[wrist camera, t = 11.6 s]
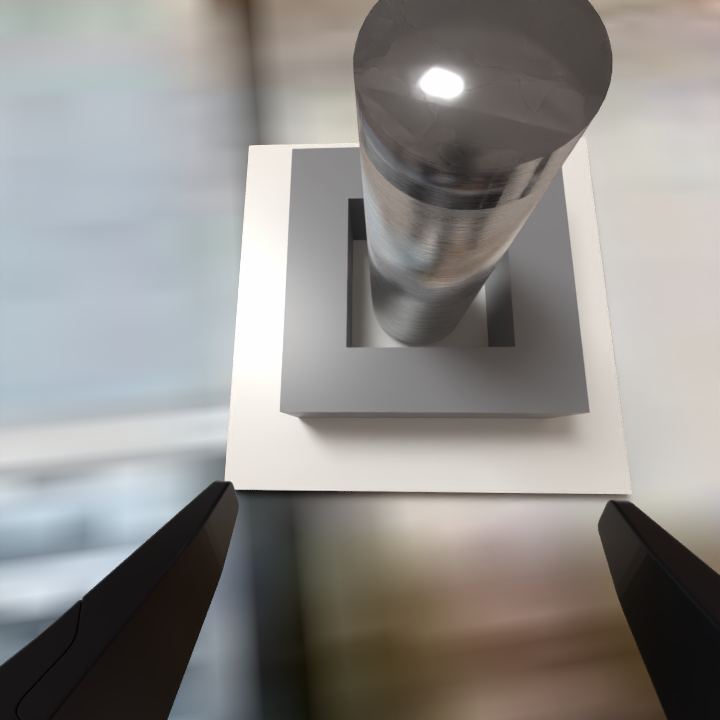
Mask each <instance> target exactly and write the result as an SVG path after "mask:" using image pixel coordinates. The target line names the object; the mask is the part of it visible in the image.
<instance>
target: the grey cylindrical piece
mask: <svg viewBox="0 0 720 720" xmlns="http://www.w3.org/2000/svg"><path fill="white" fill-rule="evenodd" d="M353 67H354V83H355V96H356V108H357V121H358V133H359V146H360V159H361V171H362V184H363V196H364V209H365V221H366V234H367V247H368V259H369V272H370V284H371V297H372V307H373V312H374V315H375V318H376V320H377V322H378V323H379V325H380V326H381V328H382V329H383V330H384V331H385V332H386V333H387V334H388V335H390V336H391V337H392V338H394V339H396V340H398V341H400V342H403V343H406V344H410V345H426V344H431V343H435V342H437V341H439V340H441V339H443V338H445V337H446V336H447V335H449V334H450V333H451V332H452V331H453V330H454V329H455V328H456V326H457V325H458V323H459V322H460V320H461V319H462V317H463V316H464V314H465V313H466V311H467V310H468V308H469V307H470V305H471V304H472V302H473V301H474V299H475V298H476V296H477V295H478V293H479V292H480V290H481V288H482V287H483V285H484V284H485V282H486V281H487V279H488V278H489V276H490V275H491V273H492V272H493V270H494V269H495V267H496V266H497V264H498V263H499V261H500V260H501V258H502V257H503V255H504V254H505V252H506V250H507V249H508V247H509V246H510V244H511V243H512V241H513V240H514V238H515V237H516V235H517V234H518V232H519V231H520V229H521V228H522V226H523V225H524V223H525V222H526V220H527V219H528V217H529V216H530V214H531V212H532V211H533V209H534V208H535V206H536V205H537V203H538V202H539V200H540V199H541V197H542V196H543V194H544V193H545V191H546V190H547V188H548V187H549V185H550V184H551V182H552V181H553V179H554V178H555V176H556V174H557V173H558V171H559V170H560V168H561V167H562V165H563V164H564V162H565V161H566V159H567V158H568V156H569V155H570V153H571V152H572V150H573V149H574V147H575V146H576V144H577V143H578V141H579V140H580V138H581V137H582V135H583V133H584V132H585V130H586V129H587V127H588V126H589V124H590V123H591V121H592V120H593V118H594V117H595V115H596V114H597V112H598V111H599V109H600V107H601V105H602V103H603V101H604V99H605V97H606V94H607V91H608V88H609V85H610V81H611V75H612V50H611V44H610V40H609V37H608V34H607V31H606V28H605V26H604V24H603V22H602V20H601V18H600V16H599V15H598V13H597V12H596V10H595V9H594V8H593V6H592V5H591V3H590V2H589V1H588V0H379V1H378V2H377V3H376V4H375V6H374V7H373V8H372V10H371V11H370V13H369V14H368V16H367V17H366V19H365V21H364V23H363V25H362V27H361V29H360V31H359V34H358V37H357V41H356V44H355V50H354V57H353Z"/></svg>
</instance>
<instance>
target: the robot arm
mask: <svg viewBox="0 0 720 720" xmlns="http://www.w3.org/2000/svg"><path fill="white" fill-rule="evenodd" d="M238 506H239V505H238V499H237V496H236V492H235V489H234V485H233V483H232V482H231V481H220V480H218V481H215V482H213V483H212V484H211V485H209V486H208V487H207V488H206V489H205V490H204V491H203V492H201V493H200V494H199V495H198V496H197V497H196V498H195V499H193V500H192V501H191V502H190V503H189V504H188V505H187V506H186V507H184V508H183V509H182V510H181V511H180V512H179V513H178V514H176V515H175V516H174V517H173V518H172V519H171V520H170V521H169V522H167V523H166V524H165V525H164V526H163V527H162V528H161V529H159V530H158V531H157V532H156V533H155V534H154V535H153V536H152V537H150V538H149V539H148V540H147V541H146V542H145V543H144V544H142V545H141V546H140V547H139V548H138V549H137V550H136V551H134V552H133V553H132V554H131V555H130V556H129V557H128V558H127V559H125V560H124V561H123V562H122V563H121V564H120V565H119V566H117V567H116V568H115V569H114V570H113V571H112V572H111V573H110V574H108V575H107V576H106V577H105V578H104V579H103V580H102V581H100V582H99V583H98V584H97V585H96V586H95V587H94V588H93V589H91V590H90V591H89V592H88V593H87V594H86V595H85V596H84V597H83V598H82V600H79V601H78V602H76V603H75V604H74V605H73V606H72V607H71V608H70V609H69V610H67V611H66V612H65V613H64V614H63V615H62V616H61V617H59V618H58V619H57V620H56V621H55V622H53V623H52V624H51V625H50V626H49V627H48V628H46V629H45V630H44V631H43V632H42V633H41V634H39V635H38V636H37V637H36V638H35V639H33V640H32V641H31V642H30V643H28V644H27V645H26V646H25V647H23V648H22V649H21V650H20V651H18V652H17V653H16V654H15V655H13V656H12V657H11V658H10V659H8V660H7V661H6V662H5V663H3V664H2V665H1V666H0V720H167V719H168V716H169V714H170V711H171V708H172V706H173V703H174V700H175V698H176V695H177V692H178V690H179V687H180V684H181V682H182V679H183V676H184V674H185V671H186V668H187V665H188V663H189V660H190V657H191V655H192V652H193V649H194V647H195V644H196V641H197V639H198V636H199V633H200V631H201V628H202V625H203V623H204V620H205V617H206V615H207V612H208V609H209V606H210V604H211V601H212V598H213V596H214V593H215V590H216V588H217V585H218V582H219V579H220V577H221V574H222V570H223V567H224V563H225V560H226V556H227V552H228V548H229V544H230V540H231V536H232V533H233V529H234V525H235V521H236V517H237V513H238ZM598 531H599V535H600V538H601V542H602V545H603V549H604V552H605V555H606V559H607V562H608V566H609V569H610V572H611V576H612V579H613V583H614V586H615V589H616V593H617V596H618V599H619V602H620V604H621V607H622V609H623V612H624V615H625V617H626V619H627V622H628V624H629V627H630V629H631V632H632V634H633V637H634V639H635V642H636V644H637V647H638V649H639V651H640V654H641V656H642V659H643V661H644V664H645V666H646V669H647V671H648V674H649V676H650V678H651V681H652V683H653V686H654V688H655V691H656V693H657V696H658V698H659V701H660V703H661V706H662V708H663V710H664V713H665V715H666V718H667V720H720V575H719V574H718V573H717V572H716V571H714V570H713V569H712V568H711V567H710V566H708V565H707V564H706V563H705V562H703V561H702V560H701V559H700V558H699V557H697V556H696V555H695V554H694V553H692V552H691V551H690V550H689V549H688V548H686V547H685V546H684V545H683V544H682V543H680V542H679V541H678V540H677V539H675V538H674V537H673V536H672V535H671V534H669V533H668V532H667V531H666V530H664V529H663V528H662V527H661V526H660V525H658V524H657V523H656V522H655V521H654V520H652V519H651V518H650V517H649V516H647V515H646V514H645V513H644V512H643V511H641V510H640V509H639V508H638V507H636V506H635V505H634V504H633V503H631V502H629V501H625V500H610V501H608V502H607V504H606V506H605V509H604V511H603V513H602V515H601V517H600V520H599V522H598Z"/></svg>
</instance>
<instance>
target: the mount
mask: <svg viewBox="0 0 720 720" xmlns="http://www.w3.org/2000/svg"><path fill="white" fill-rule="evenodd" d="M225 481H231V482H232V483H233V485H234V489H235V490H311V491H398V492H486V493H573V494H632V490H631V483H630V475H629V467H628V460H627V452H626V444H625V436H624V429H623V421H622V413H621V406H620V398H619V390H618V383H617V375H616V367H615V360H614V352H613V344H612V336H611V329H610V321H609V313H608V306H607V298H606V290H605V283H604V275H603V267H602V260H601V252H600V244H599V236H598V229H597V221H596V213H595V206H594V198H593V190H592V183H591V175H590V167H589V160H588V152H587V144H586V137H581V138H580V140H579V141H578V143H577V144H576V146H575V147H574V149H573V150H572V152H571V153H570V155H569V156H568V158H567V159H566V161H565V162H564V164H563V165H562V167H561V168H560V170H559V171H558V173H557V174H556V176H555V178H554V179H553V181H552V182H551V184H550V185H549V187H548V188H547V190H546V191H545V193H544V194H543V196H542V197H541V199H540V200H539V202H538V203H537V205H536V206H535V208H534V209H533V211H532V212H531V214H530V216H529V217H528V219H527V220H526V222H525V223H524V225H523V226H522V228H521V229H520V231H519V232H518V234H517V235H516V237H515V238H514V240H513V241H512V243H511V244H510V246H509V247H508V249H507V250H506V252H505V254H504V255H503V257H502V258H501V260H500V261H499V263H498V264H497V266H496V267H495V269H494V270H493V272H492V273H491V275H490V276H489V278H488V279H487V281H486V282H485V284H484V285H483V287H482V288H481V290H480V292H479V293H478V295H477V296H476V298H475V299H474V301H473V302H472V304H471V305H470V307H469V308H468V310H467V311H466V313H465V314H464V316H463V317H462V319H461V320H460V322H459V323H458V325H457V326H456V328H455V329H454V330H453V331H452V332H451V333H450V334H449V335H447V336H446V337H445V338H443V339H441V340H439V341H437V342H435V343H431V344H426V345H410V344H406V343H403V342H400V341H398V340H396V339H394V338H392V337H391V336H390V335H388V334H387V333H386V332H385V331H384V330H383V329H382V328H381V326H380V325H379V323H378V322H377V320H376V318H375V315H374V312H373V307H372V297H371V284H370V272H369V259H368V247H367V234H366V221H365V209H364V196H363V184H362V171H361V159H360V146H359V143H332V144H294V145H255V146H249V157H248V170H247V184H246V198H245V211H244V225H243V238H242V252H241V265H240V279H239V292H238V306H237V319H236V333H235V347H234V360H233V374H232V387H231V401H230V414H229V428H228V441H227V455H226V469H225Z"/></svg>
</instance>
